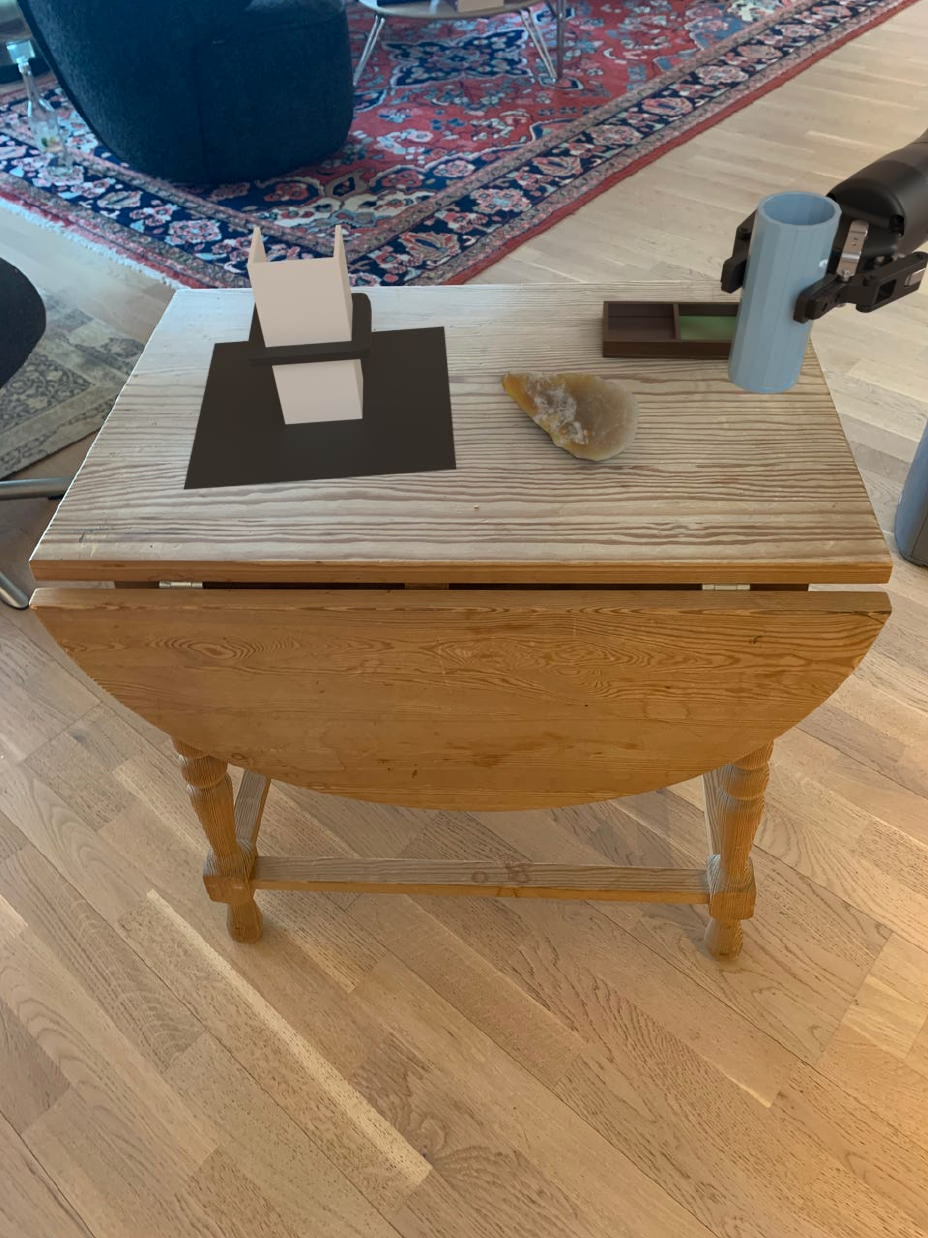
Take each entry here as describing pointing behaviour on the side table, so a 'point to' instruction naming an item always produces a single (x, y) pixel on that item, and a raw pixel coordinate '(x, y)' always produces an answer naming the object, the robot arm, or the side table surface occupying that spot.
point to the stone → (577, 411)
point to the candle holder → (320, 386)
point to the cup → (780, 288)
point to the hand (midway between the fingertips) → (762, 294)
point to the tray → (668, 329)
